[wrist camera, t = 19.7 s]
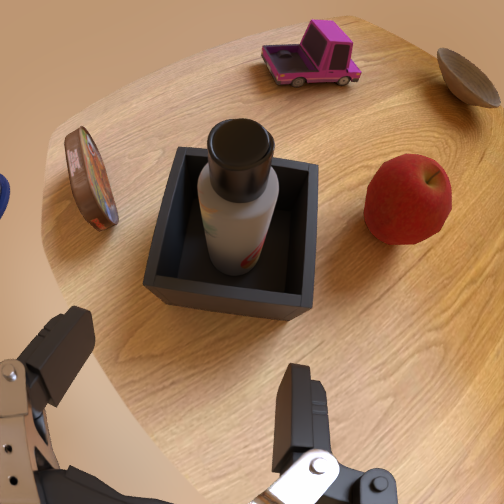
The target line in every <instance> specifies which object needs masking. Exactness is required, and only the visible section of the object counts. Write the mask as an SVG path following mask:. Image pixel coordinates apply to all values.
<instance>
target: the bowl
mask: <svg viewBox="0 0 504 504" xmlns="http://www.w3.org/2000/svg"><path fill="white" fill-rule="evenodd" d="M437 59H438V63H439V67H440V70H441V73H442V76H443V79H444V81H445V83H446V85H447V87H448V88H449V90H450V91H451V92H452V93H453V94H454V95H455V96H456V97H457V98H458V99H460V100H461V101H463V102H464V103H466V104H469V105H473V106H481V107H485V108H497V107H499V106H500V103H501V101H500V97H499V95H498V92H497V90H496V88H495V87H494V85H493V84H492V82H491V81H490V80H489V79H488V77H487V76H486V75H485V74H484V73H483V72H482V71H481V70H480V69H479V68H478V67H476V66H475V65H474V64H473V63H471V62H470V61H469V60H467V59H465V57H463V56H461V55H460V54H458V53H456V52H454V51H452V50H449V49H446V48H440V49H438V51H437Z"/></svg>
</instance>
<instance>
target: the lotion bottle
mask: <svg viewBox="0 0 504 504" xmlns="http://www.w3.org/2000/svg"><path fill="white" fill-rule="evenodd" d="M274 148H275V143H274V139H273V137H272V135H271V134H270V133H269V132H268V131H267V130H266V129H265V128H264V127H263V126H262V125H261V124H259V123H258V122H256V121H253V120H250V119H244V118H241V119H229V120H225V121H222V122H220V123H218V124H217V125H215V126H214V127H213V128H212V130H211V131H210V133H209V136H208V140H207V151H208V163H207V164H206V165H205V167H204V168H203V170H202V171H201V173H200V176H199V179H198V197H199V203H200V209H201V215H202V220H203V226H204V231H205V236H206V241H207V247H208V252H209V256H210V259H211V261H212V263H213V265H214V266H215V267H216V268H217V269H218V270H219V271H220V272H222V273H224V274H226V275H231V276H238V275H242V274H245V273H247V272H249V271H250V270H251V269H252V268H253V267H254V266H255V265H256V263H257V261H258V259H259V256H260V253H261V250H262V247H263V244H264V240H265V237H266V234H267V231H268V227H269V224H270V221H271V218H272V214H273V211H274V208H275V204H276V201H277V197H278V192H279V184H278V178H277V175H276V173H275V171H274V170H273V168H272V167H271V164H272V159H273V154H274Z"/></svg>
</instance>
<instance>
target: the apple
mask: <svg viewBox="0 0 504 504" xmlns="http://www.w3.org/2000/svg"><path fill="white" fill-rule="evenodd" d="M451 209H452V192H451V185H450V181H449V178H448V176H447V174H446V172H445V171H444V169H443V168H442V167H441V166H440V165H439V164H438V163H437V162H436V161H435V160H433V159H431V158H428V157H426V156H422V155H418V154H404V155H401V156H398V157H395V158H393V159H391V160H389V161H387V162H384V163H383V164H382V166H381V167H380V168H379V170H378V171H377V172H376V174H375V175H374V177H373V179H372V180H371V182H370V184H369V185H368V187H367V194H366V200H365V206H364V218H365V223H366V225H367V227H368V229H369V230H370V232H371V233H372V234H373V235H374V236H375V237H376V238H377V239H379V240H380V241H382V242H384V243H386V244H389V245H408V244H417V243H419V242H421V241H423V240H425V239H427V238H429V237H431V236H432V235H434V234H436V233H438V232H439V231H440V230H441V228H442V226H443V224H444V222H445V221H446V219H447V217H448V215H449V213H450V211H451Z"/></svg>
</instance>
